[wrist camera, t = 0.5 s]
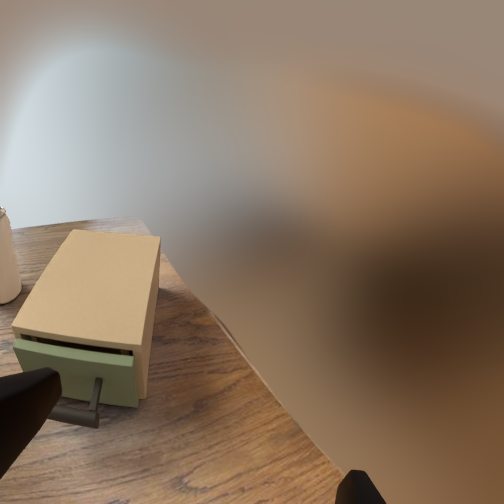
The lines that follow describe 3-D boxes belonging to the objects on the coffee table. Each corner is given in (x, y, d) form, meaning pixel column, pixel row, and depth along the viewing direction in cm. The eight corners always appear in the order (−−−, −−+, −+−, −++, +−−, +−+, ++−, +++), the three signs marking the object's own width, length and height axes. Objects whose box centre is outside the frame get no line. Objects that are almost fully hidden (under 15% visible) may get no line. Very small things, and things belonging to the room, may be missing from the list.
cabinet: (146, 399, 28) (141, 344, 24) (33, 381, 25) (10, 325, 21) (158, 287, 45) (161, 236, 41) (77, 278, 42) (73, 229, 38)
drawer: (135, 452, 22) (126, 417, 19) (19, 429, 19) (-7, 389, 16) (152, 293, 42) (153, 252, 39) (75, 285, 39) (70, 245, 36)
